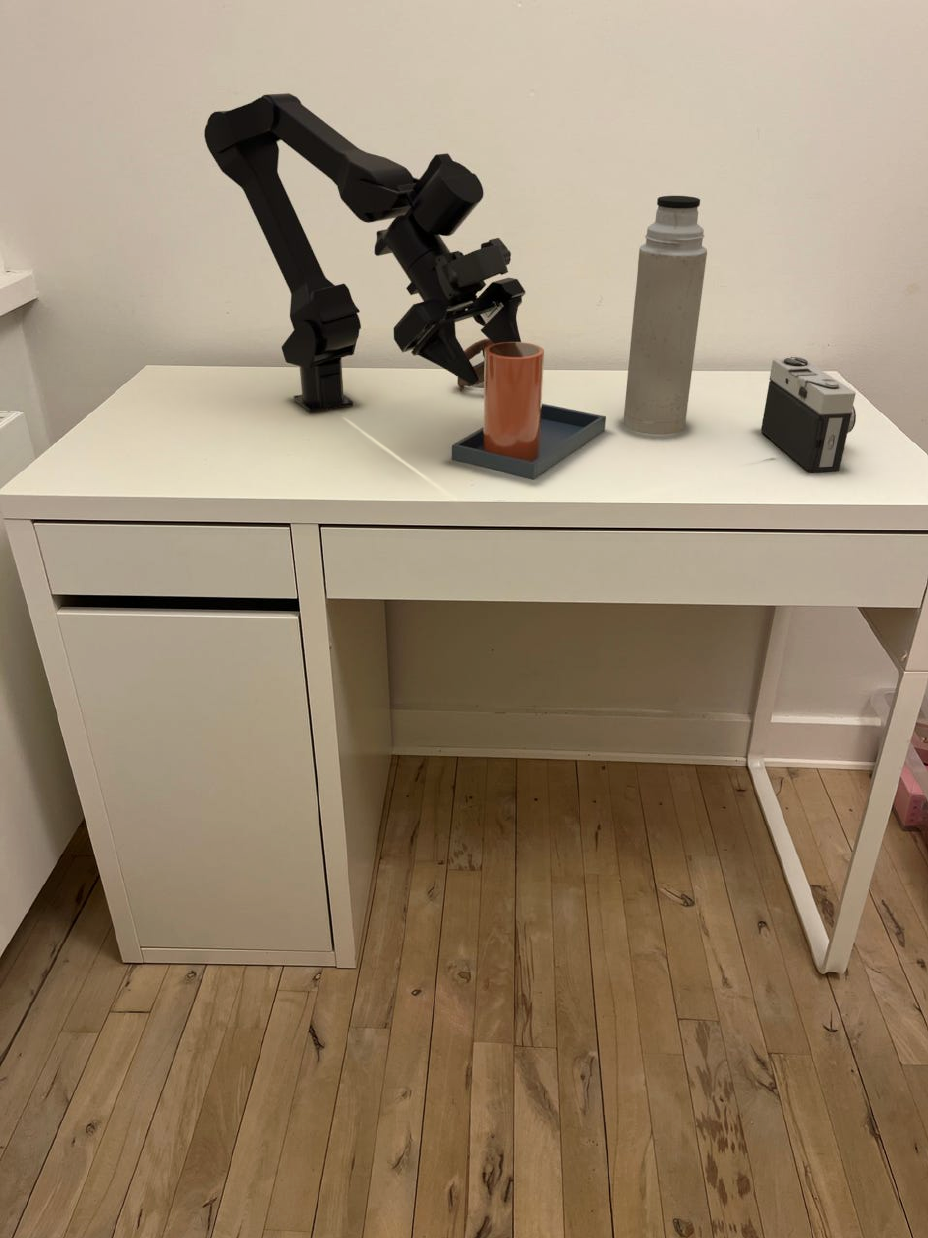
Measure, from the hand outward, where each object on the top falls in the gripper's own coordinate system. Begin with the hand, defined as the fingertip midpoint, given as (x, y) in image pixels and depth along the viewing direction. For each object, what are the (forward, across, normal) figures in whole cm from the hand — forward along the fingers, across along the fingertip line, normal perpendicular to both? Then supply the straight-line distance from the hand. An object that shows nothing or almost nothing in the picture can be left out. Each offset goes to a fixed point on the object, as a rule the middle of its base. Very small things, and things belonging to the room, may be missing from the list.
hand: (500, 373), depth 114 cm
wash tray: (+8, +4, +6) cm, 11 cm away
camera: (+28, +26, -14) cm, 40 cm away
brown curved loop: (-4, +20, +19) cm, 28 cm away
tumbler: (+8, 0, +5) cm, 10 cm away
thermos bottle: (+14, +21, 0) cm, 25 cm away
